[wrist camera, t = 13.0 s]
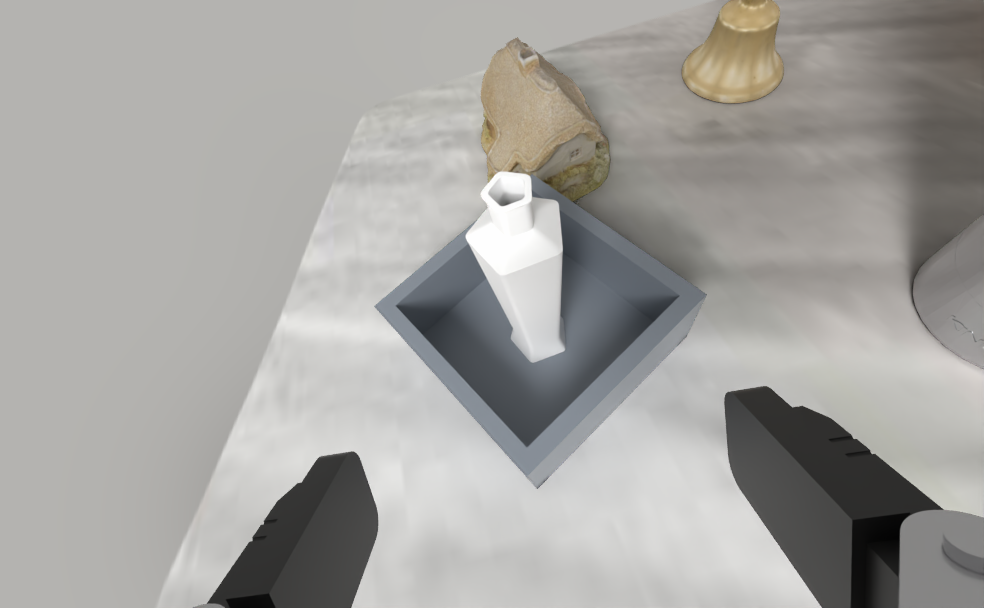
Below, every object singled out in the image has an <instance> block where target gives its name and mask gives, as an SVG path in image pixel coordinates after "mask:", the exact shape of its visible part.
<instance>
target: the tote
mask: <svg viewBox="0 0 984 608" xmlns="http://www.w3.org/2000/svg"><path fill="white" fill-rule="evenodd" d="M530 177H531V184H532V197H535V198H543V199H551V200H555V201H557V202H558V204H559V212H560V223H561V234H562V245H563V255H562V284H561V312H560V316H561V317H562V318H563V320H564V330H565V342H566V349H565V351H563V352H561V353H558V354H556V355H553V356H551V357H548V358H545V359H543V360H540V361H537V362H534V363H532V362H530V361H529V360H528V359H527V358H526V356H525V355H524V354H523V353H522V352H521V351H520V349H519V348H518V347H517V346H516V345H515V344H514V342H513V341H512V340H511V334H512V330H513V327H512V326H511V324H510V322H509V320H508V318H507V316H506V314H505V312H504V310H503V308H502V306H501V305H500V303H499V301H498V299H497V297H496V295H495V293H494V291H493V289H492V287H491V285H490V284H489V282H488V280H487V278H486V276H485V274H484V272H483V270H482V268H481V266H480V264H479V263H478V261H477V259H476V257H475V255H474V253H473V251H472V249H471V247H470V245H469V243H468V242H467V240H466V234H467V232H468V231H469V230H470V228H471V227H472V226H473V225H474V224H475V222H476V221H477V220H476V221H475V222H474V223H473V224H472V225H470V226H469V227H468V228H467V229H466V230H465V231H463V232H462V233H461V234H460V235H459V236H457V237H456V238H455V239H454V240H453V241H451V242H450V243H449V244H448V245H447V246H445V247H444V248H443V249H442V250H441V251H439V252H438V253H437V254H436V255H435V256H434V257H432V258H431V259H430V260H429V261H428V262H426V263H425V264H424V265H423V266H422V267H420V268H419V269H418V270H417V271H416V272H414V273H413V274H412V275H411V276H410V277H408V278H407V279H406V280H405V281H404V282H403V283H401V284H400V285H399V286H398V287H397V288H395V289H394V290H393V291H392V292H391V293H389V294H388V295H387V296H386V297H385V298H383V299H382V300H381V301H380V302H379V303H378V304H376V305H375V306H374V307H375V308H376V309H377V310H378V311H379V312H380V313H381V314H382V316H383V317H384V318H385V319H386V320H387V321H388V322H389V323H390V324H391V326H392V327H393V328H394V329H395V330H396V331H397V332H398V333H399V335H400V336H401V337H402V338H403V339H404V340H405V341H406V342H407V344H408V345H409V346H410V347H411V348H412V349H413V350H414V351H415V352H416V354H417V355H418V356H419V357H420V358H421V359H422V360H423V361H424V363H425V364H426V365H427V366H428V367H429V368H430V369H431V370H432V372H433V373H434V374H435V375H436V376H437V377H438V378H439V379H440V380H441V382H442V383H443V384H444V385H445V386H446V387H447V388H448V389H449V391H450V392H451V393H452V394H453V395H454V396H455V397H456V398H457V400H458V401H459V402H460V403H461V404H462V405H463V406H464V407H465V408H466V410H467V411H468V412H469V413H470V414H471V415H472V416H473V417H474V419H475V420H476V421H477V422H478V423H479V424H480V425H481V426H482V428H483V429H484V430H485V431H486V432H487V433H488V434H489V435H490V436H491V438H492V439H493V440H494V441H495V442H496V443H497V444H498V445H499V447H500V448H501V449H502V450H503V451H504V452H505V453H506V454H507V456H508V457H509V458H510V459H511V460H512V461H513V462H514V463H515V464H516V466H517V467H518V468H519V469H520V470H521V471H522V472H523V473H524V475H525V476H526V477H527V478H528V479H529V480H530V481H531V482H532V483H533V485H534V486H535V487H536V488H537V489H538V488H539V487H540V486H541V485H542V484H543V483H544V482H545V481H546V480H547V479H548V478H549V477H550V476H551V475H552V474H553V473H554V471H555V470H556V469H557V468H558V467H559V466H560V465H561V464H562V463H563V462H564V461H565V460H566V459H567V458H568V457H569V456H570V455H571V454H572V453H573V452H574V451H575V450H576V449H577V448H578V447H579V446H580V445H581V444H582V443H583V442H584V441H585V440H586V439H587V438H588V437H589V436H590V435H591V434H592V433H593V432H594V431H595V430H596V428H597V427H598V426H599V425H600V424H601V423H602V422H603V421H604V420H605V419H606V418H607V417H608V416H609V415H610V414H611V413H612V412H613V411H614V410H615V409H616V408H617V407H618V406H619V405H620V404H621V403H622V402H623V401H624V400H625V399H626V398H627V397H628V396H629V395H630V394H631V393H632V392H633V391H634V390H635V389H636V388H637V387H638V385H639V384H640V383H641V382H642V381H643V380H644V379H645V378H646V377H647V376H648V375H649V374H650V373H651V372H652V371H653V370H654V369H655V368H656V367H657V366H658V365H659V364H660V363H661V362H662V361H663V360H664V359H665V358H666V357H667V356H668V355H669V354H670V353H671V352H672V351H673V350H674V349H675V348H676V347H677V346H678V345H679V344H680V342H681V341H682V340H683V339H684V338H685V337H686V336H687V334H688V332H689V330H690V328H691V326H692V324H693V322H694V320H695V318H696V316H697V314H698V312H699V310H700V308H701V306H702V304H703V302H704V300H705V298H706V296H707V294H705V293H704V292H702V291H701V290H699V289H698V288H697V287H695V286H694V285H692V284H691V283H689V282H688V281H686V280H685V279H683V278H682V277H681V276H679V275H678V274H676V273H675V272H673V271H672V270H670V269H669V268H668V267H666V266H665V265H663V264H662V263H660V262H659V261H657V260H656V259H655V258H653V257H652V256H650V255H649V254H647V253H646V252H644V251H643V250H641V249H640V248H639V247H637V246H636V245H634V244H633V243H631V242H630V241H628V240H627V239H626V238H624V237H623V236H621V235H620V234H618V233H617V232H615V231H614V230H613V229H611V228H610V227H608V226H607V225H605V224H604V223H602V222H601V221H599V220H598V219H597V218H595V217H594V216H592V215H591V214H589V213H588V212H586V211H585V210H584V209H582V208H581V207H579V206H578V205H576V204H575V203H573V202H572V201H570V200H569V199H568V198H566V197H565V196H563V195H562V194H560V193H559V192H557V191H556V190H555V189H553V188H552V187H550V186H549V185H547V184H546V183H544V182H543V181H542V180H540V179H539V178H537V177H536V176H534V175H533V174H531V175H530Z"/></svg>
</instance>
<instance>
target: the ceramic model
mask: <svg viewBox="0 0 984 608" xmlns="http://www.w3.org/2000/svg"><path fill="white" fill-rule="evenodd" d="M481 101H482V104H483V107H484V117H485V120H484V123H483V125H482V127H483V131H482V137H481V144H482V147H483V149H484V151H485V153H486V154H487V166H488V183H489V182H490V180H491V179H492V178H493V177H494V176H495V175H496V174H497V173H498V172H513V173H521V174H527V175H529V176H530V175H531V174H533V175H534V176H536V177H537V178H539V179H540V180H542V181H543V182H544V183H546V184H547V185H549V186H550V187H552V188H553V189H555V190H556V191H557V192H559V193H560V194H562V195H563V196H565V197H566V198H568V199H569V200H570V201H572V202H574V201H575V200H577V199H579V198H580V197H582V196H584V195H586V194H588V193H590V192H591V191H593V190H595V189H596V188H598V187H600V186H601V185H602V183H603V182H604V180H605V179H606V178H607V175H608V171H609V164H610V155H609V144H608V140H607V138H606V137H605V136H604V135H603V134H602V133H601V126H600V125H599V124H598V122H597V121H596V120H595V118H594V116H593V115H592V113H591V111H590V108H589V107H588V105H587V104H586V103H585V98H584V96H583V95H582V93H581V91H580V89H579V88H578V87H577V86H576V84H575V83H574V82H573V80H572V79H571V78H569V77H568V76H565V75H564V74H563V73H562V74H561V73H560V72H558V71H557V69H556V68H555V67H554V66H553V65H552V64H550V63H549V62H547V61H546V60H545V59H544V58H543V56H541V55H540V54H538V53H537V52H536V51H535V50H534V49H533V48H532V47H529V46H528V45H527V44H526V43H523V42H521V41H520V40H519V39H518V37H517V38H515V39H513V40H512V41H510V42H508V43H507V44H506V47H505V48H503V49H501V50H499V51H498V52H497V53H496V54H495V55H494V56H493V57H492V60H491V63H490V65H489V67H488V69H487V71H486V73H485V75H484V78H483V82H482V89H481Z"/></svg>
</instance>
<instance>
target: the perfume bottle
mask: <svg viewBox="0 0 984 608" xmlns="http://www.w3.org/2000/svg"><path fill="white" fill-rule="evenodd" d="M481 197H482V199H483V200H484V201H485V202H486V203H487V206H488V207H487V209H486V210H485V211H484V212H483V214H482V215H481V216H480V217H479V219H478V220H477V221H476V222H475V224H474V225H473V226H472V227H471V228H470V230H469V231H468V232H467V234H466V240H467V242H468V243H469V245H470V247H471V249H472V251H473V253H474V255H475V257H476V259H477V261H478V263H479V264H480V266H481V268H482V270H483V272H484V274H485V276H486V278H487V280H488V282H489V284H490V285H491V287H492V289H493V291H494V293H495V295H496V297H497V299H498V301H499V303H500V305H501V306H502V308H503V310H504V312H505V314H506V316H507V318H508V320H509V322H510V324H511V326H512V327H513V330H512V334H511V340H512V341H513V342H514V344H515V345H516V346H517V347H518V348H519V349H520V351H521V352H522V353H523V354H524V355H525V356H526V358H527V359H528V360H529V361H530V362H532V363H534V362H537V361H540V360H543V359H545V358H548V357H551V356H553V355H556V354H558V353H561V352H563V351H565V349H566V342H565V330H564V320H563V318H562V317H561V316H560V312H561V284H562V255H563V245H562V234H561V223H560V212H559V204H558V202H557V201H555V200H551V199H543V198H535V197H532V184H531V177H530V176H529V175H527V174H521V173H513V172H498V173H497V174H496V175H495V176H494V177H493V178H492V179H491V180H490V182H489V183H488V184H487V185H486V186H485V188H484V189H483V190H482V192H481Z"/></svg>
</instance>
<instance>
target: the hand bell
mask: <svg viewBox="0 0 984 608" xmlns="http://www.w3.org/2000/svg"><path fill="white" fill-rule="evenodd" d="M779 17H780V10H779V7H778V6H777V4H776V3H775V2H773V1H772V0H731V1H729V2H727V3H726V4H725V5H724V6H723V7H722V9H721V10H720V12H719V15H718V18H717V20H716V23H715V25H714V27H713V30H712V32H711V34H710V36H709V37H708V39H707V40H706V41H705V43H704V44H702V45H701V46H699V47H698V48H696V49H695V50H694V51H693V52H692V53H691V54H690V55H689V56H688V57H687V59H686V60H685V62H684V64H683V67H682V77H683V80H684V82H685V84H686V85H687V87H688V88H689V89H690V90H691V91H693V92H694V93H696V94H697V95H698V96H700V97H703V98H706V99H709V100H712V101H716V102H721V103H743V102H748V101H753V100H756V99H759V98H761V97H764V96H766V95H767V94H769V93H771V92H772V91H773V90H774V89H775V88H776V87H777V86H778V85H779V84H780V82H781V80H782V78H783V74H784V67H783V62H782V59H781V57H780V55H779V54H778V53H777V52H776V50H775V35H776V30H777V25H778V21H779Z"/></svg>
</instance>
